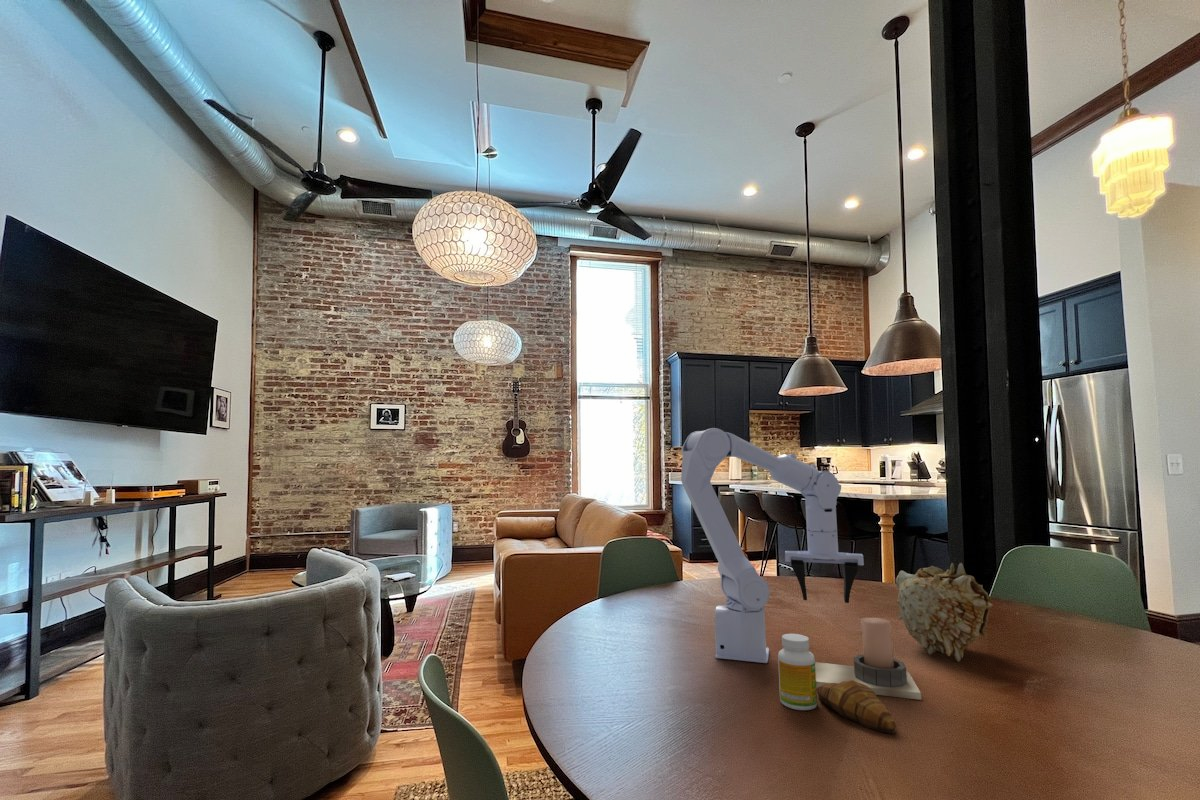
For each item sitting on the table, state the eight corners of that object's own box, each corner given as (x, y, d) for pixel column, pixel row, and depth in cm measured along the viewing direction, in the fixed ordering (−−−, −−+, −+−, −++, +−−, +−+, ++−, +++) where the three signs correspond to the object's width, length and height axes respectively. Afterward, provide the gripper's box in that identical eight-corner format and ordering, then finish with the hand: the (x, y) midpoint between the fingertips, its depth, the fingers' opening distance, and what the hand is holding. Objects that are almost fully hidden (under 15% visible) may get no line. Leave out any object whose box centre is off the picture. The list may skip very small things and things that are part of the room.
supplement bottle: (820, 712, 81) (816, 643, 82) (782, 709, 82) (779, 641, 83) (814, 697, 86) (810, 632, 87) (778, 695, 87) (775, 631, 88)
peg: (867, 681, 90) (863, 624, 91) (863, 671, 94) (859, 616, 95) (897, 683, 89) (892, 625, 90) (891, 673, 93) (887, 618, 94)
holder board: (784, 684, 91) (783, 662, 92) (785, 664, 100) (784, 644, 101) (921, 699, 85) (919, 675, 85) (908, 677, 94) (907, 656, 94)
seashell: (982, 563, 99) (1006, 566, 108) (880, 556, 112) (909, 560, 122) (993, 671, 94) (1017, 665, 104) (885, 651, 108) (915, 647, 117)
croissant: (912, 732, 75) (910, 694, 76) (875, 742, 73) (873, 702, 73) (837, 695, 88) (835, 662, 88) (803, 701, 85) (802, 667, 86)
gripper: (783, 531, 110) (787, 602, 108) (863, 534, 105) (868, 608, 103) (784, 528, 116) (787, 594, 115) (859, 530, 112) (863, 599, 110)
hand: (825, 600), depth 109 cm, fingers open, 7 cm apart
